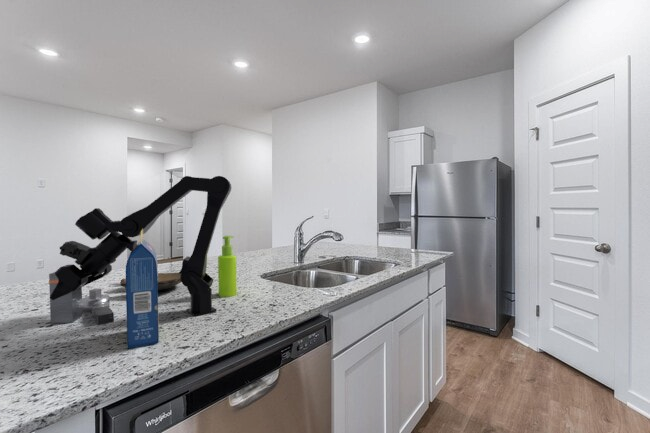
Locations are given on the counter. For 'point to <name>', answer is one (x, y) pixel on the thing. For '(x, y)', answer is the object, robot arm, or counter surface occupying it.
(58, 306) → the grey orange-striped post
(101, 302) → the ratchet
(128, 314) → the blue food package
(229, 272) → the soap dispenser
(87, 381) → the counter surface
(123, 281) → the notched wooden ornament
